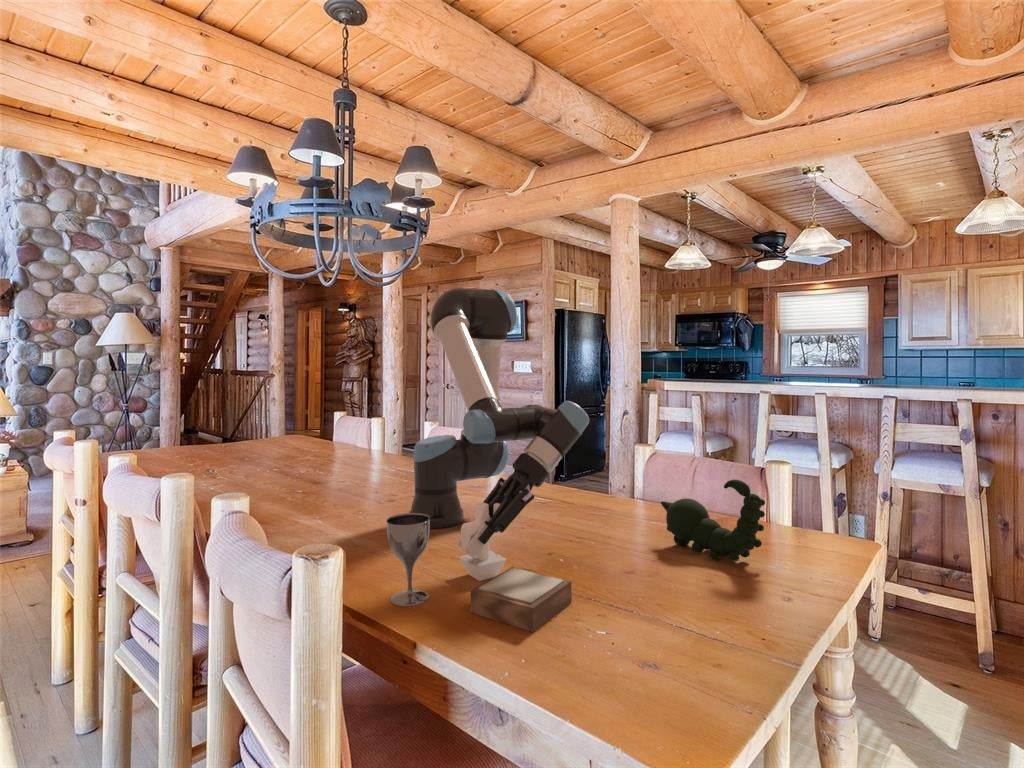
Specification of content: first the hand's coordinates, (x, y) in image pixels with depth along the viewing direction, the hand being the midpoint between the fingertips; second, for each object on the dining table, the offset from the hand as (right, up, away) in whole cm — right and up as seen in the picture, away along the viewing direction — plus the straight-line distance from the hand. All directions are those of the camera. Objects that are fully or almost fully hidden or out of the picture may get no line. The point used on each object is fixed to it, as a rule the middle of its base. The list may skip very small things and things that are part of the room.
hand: (465, 551), depth 111 cm
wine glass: (-10, -6, -8) cm, 14 cm away
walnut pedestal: (+11, -6, -13) cm, 18 cm away
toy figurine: (+54, -5, +13) cm, 56 cm away
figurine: (+4, -6, +2) cm, 7 cm away
